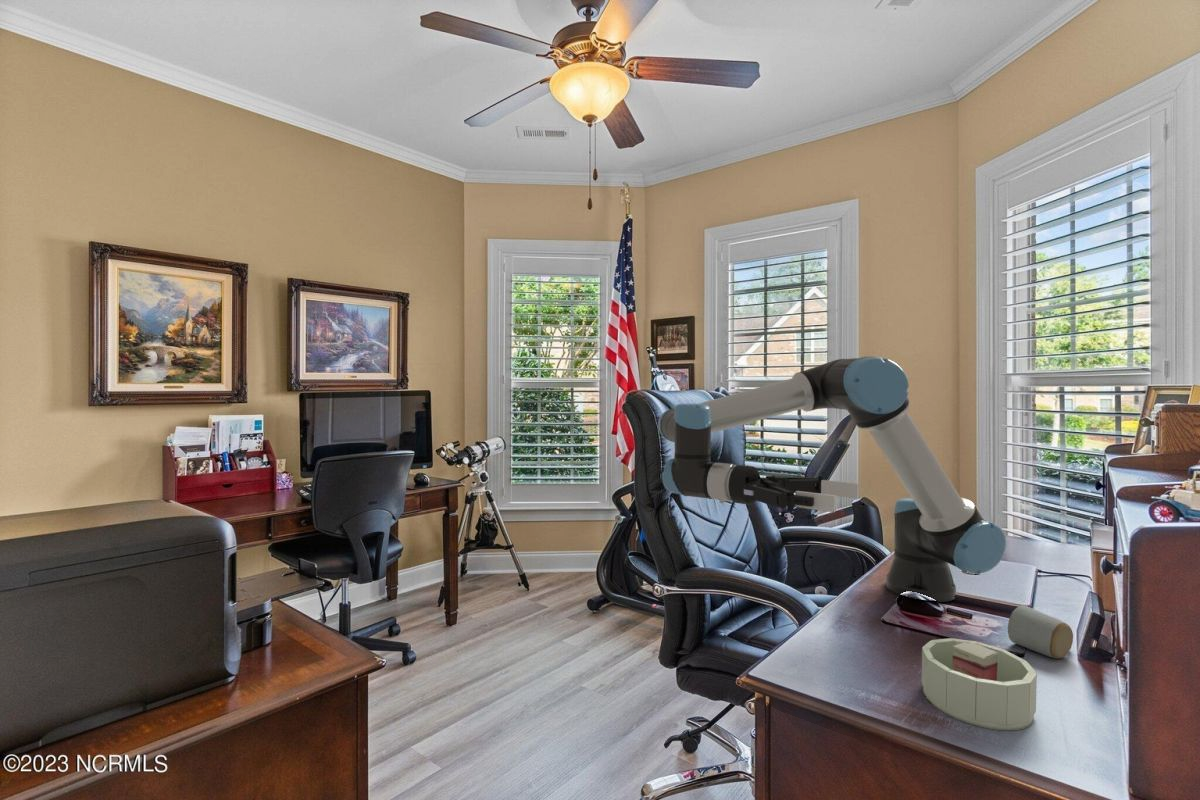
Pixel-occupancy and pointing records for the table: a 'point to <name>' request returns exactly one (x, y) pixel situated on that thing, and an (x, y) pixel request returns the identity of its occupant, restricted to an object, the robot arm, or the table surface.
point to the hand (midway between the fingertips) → (847, 497)
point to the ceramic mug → (1040, 632)
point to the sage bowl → (980, 688)
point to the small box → (975, 661)
